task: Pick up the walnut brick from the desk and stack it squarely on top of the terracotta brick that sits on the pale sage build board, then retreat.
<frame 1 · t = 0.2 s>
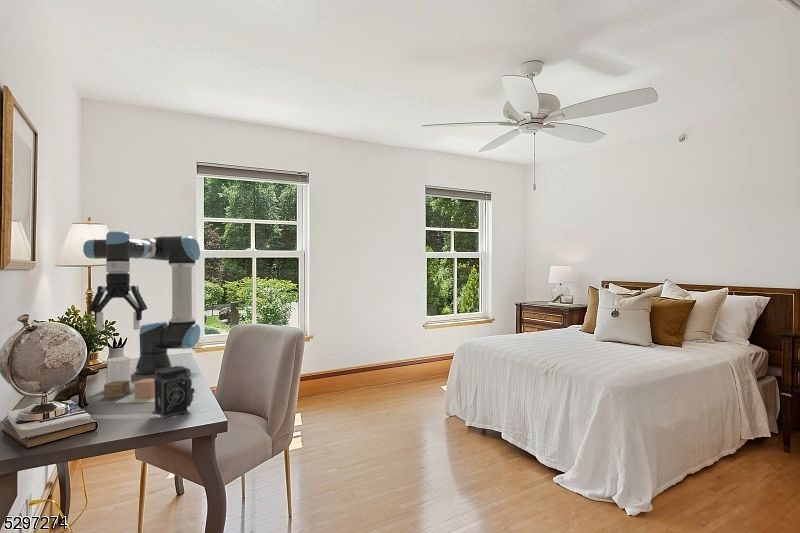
hand: (118, 329, 171), 26 cm above the table, fingers open, 13 cm apart
build board: (147, 399, 169), on the table
camera: (175, 413, 154), on the table
white rectangular block: (118, 389, 186), on the table
terracotta brick: (147, 396, 169), point 1 cm above the table, touching build board
walnut brick: (117, 398, 172), on the table
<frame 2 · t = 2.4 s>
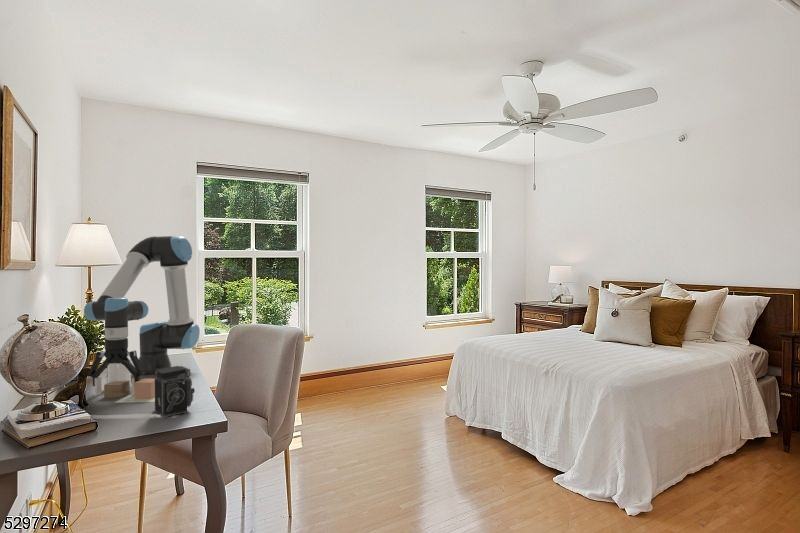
hand: (116, 394, 172), 1 cm above the table, fingers open, 13 cm apart
nothing on the table moved.
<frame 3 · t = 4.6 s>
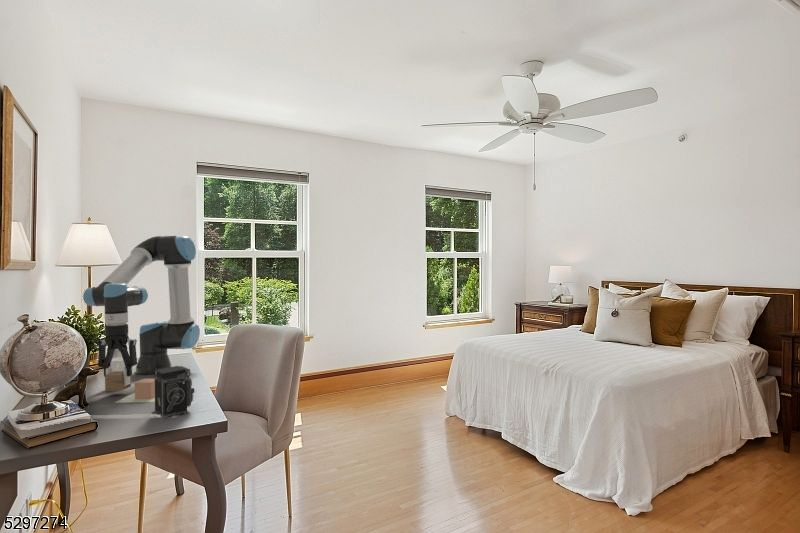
hand: (118, 384, 173), 5 cm above the table, fingers closed on walnut brick, 6 cm apart
walnut brick: (118, 388, 173), point 3 cm above the table, touching gripper
everything else where it was.
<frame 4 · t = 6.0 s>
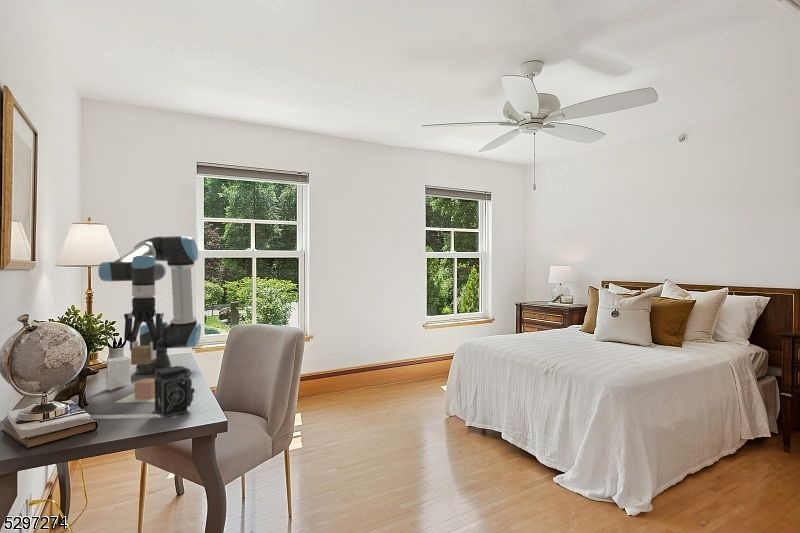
hand: (144, 359, 169), 15 cm above the table, fingers closed on walnut brick, 6 cm apart
walnut brick: (144, 362, 169), point 14 cm above the table, touching gripper
everything else where it was.
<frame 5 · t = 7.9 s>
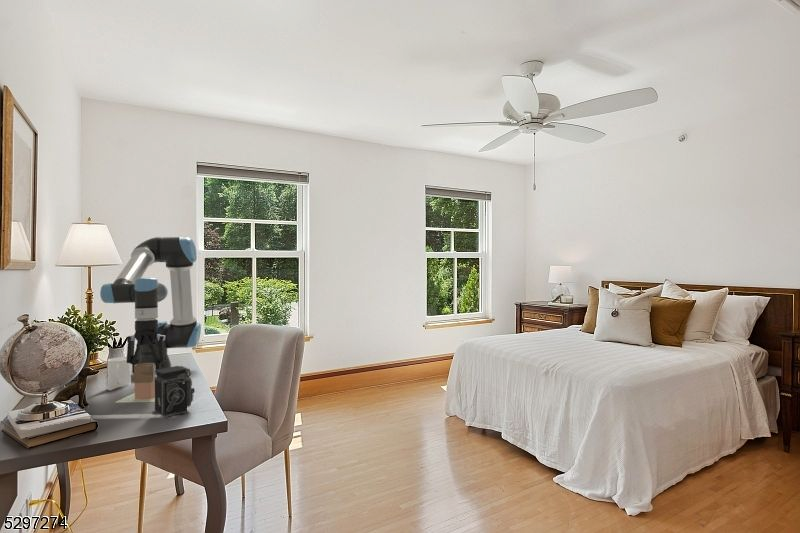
hand: (146, 381, 169), 7 cm above the table, fingers closed on walnut brick, 6 cm apart
terracotta brick: (147, 396, 169), point 1 cm above the table, touching build board, gripper, walnut brick
walnut brick: (146, 380, 169), point 7 cm above the table, touching gripper, terracotta brick
everything else where it was.
when the fingers open (7 cm above the table, at t = 8.4 s): walnut brick stays where it is, resting on terracotta brick.
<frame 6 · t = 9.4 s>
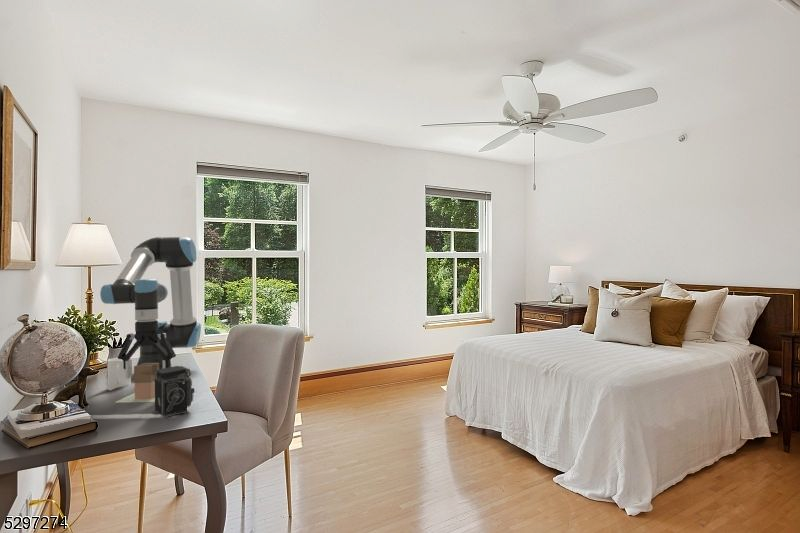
hand: (147, 377, 170), 8 cm above the table, fingers open, 13 cm apart
terracotta brick: (147, 396, 169), point 1 cm above the table, touching build board, walnut brick
walnut brick: (146, 380, 169), point 7 cm above the table, touching terracotta brick
everything else where it was.
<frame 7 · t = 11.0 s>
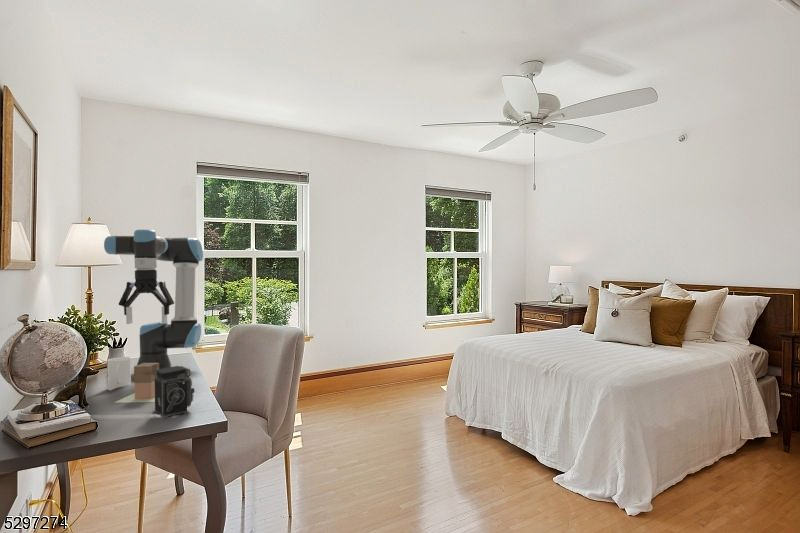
hand: (147, 323, 179), 27 cm above the table, fingers open, 13 cm apart
nothing on the table moved.
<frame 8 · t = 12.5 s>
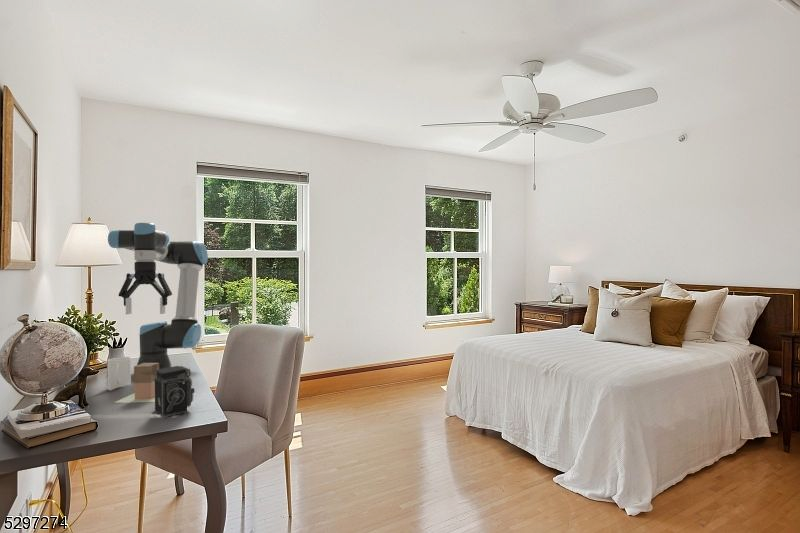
hand: (145, 314, 184), 31 cm above the table, fingers open, 13 cm apart
nothing on the table moved.
at the end: walnut brick 0.2 cm off-centre on the terracotta brick, point 6.0 cm above the terracotta brick's base; walnut brick tilted 0°; terracotta brick moved 0.0 cm from its start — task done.
